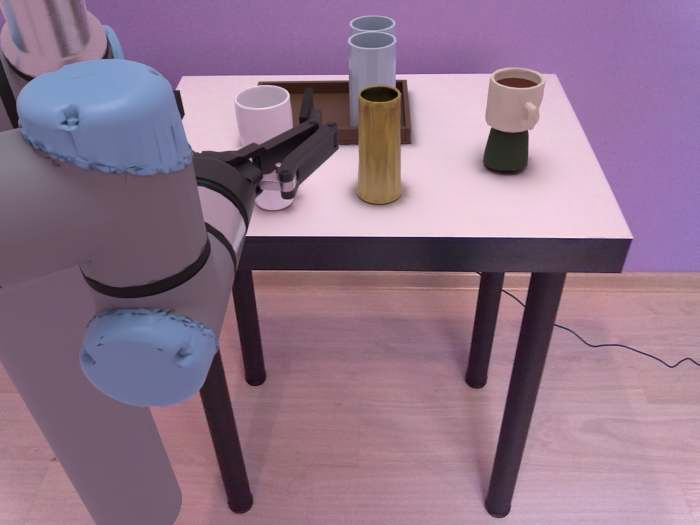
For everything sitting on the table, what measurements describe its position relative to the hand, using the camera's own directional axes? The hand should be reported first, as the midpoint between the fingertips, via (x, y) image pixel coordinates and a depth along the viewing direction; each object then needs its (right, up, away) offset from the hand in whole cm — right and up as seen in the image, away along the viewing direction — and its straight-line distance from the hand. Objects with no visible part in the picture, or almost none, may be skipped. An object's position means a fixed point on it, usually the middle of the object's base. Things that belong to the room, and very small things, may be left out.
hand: (244, 101), depth 64 cm
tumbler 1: (+15, +9, +40) cm, 44 cm away
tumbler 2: (+14, +5, +35) cm, 38 cm away
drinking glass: (+1, -9, +20) cm, 21 cm away
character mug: (+33, -3, +25) cm, 42 cm away
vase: (+15, -7, +21) cm, 26 cm away
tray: (+8, +7, +38) cm, 39 cm away
